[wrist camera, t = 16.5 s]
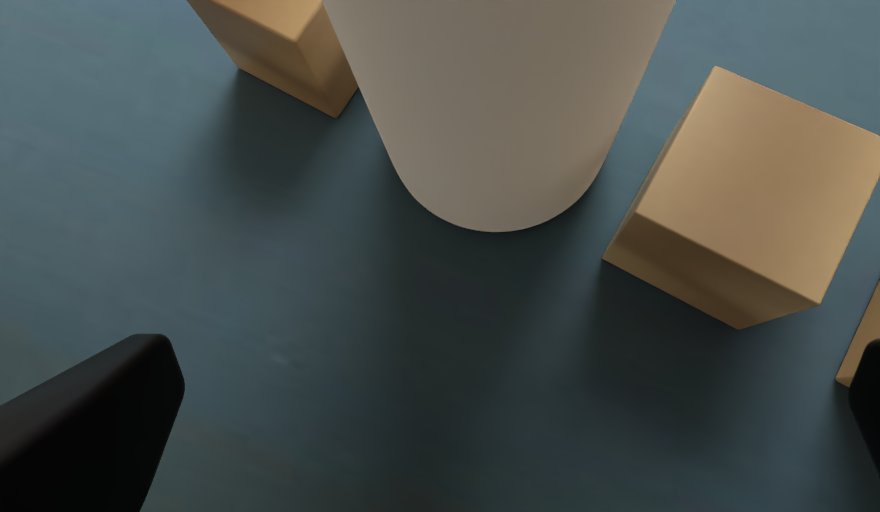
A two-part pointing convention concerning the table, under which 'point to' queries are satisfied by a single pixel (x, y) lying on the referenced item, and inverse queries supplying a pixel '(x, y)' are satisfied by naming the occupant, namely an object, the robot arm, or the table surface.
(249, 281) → the table surface
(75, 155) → the table surface
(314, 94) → the block
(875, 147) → the block
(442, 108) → the can
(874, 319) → the block
